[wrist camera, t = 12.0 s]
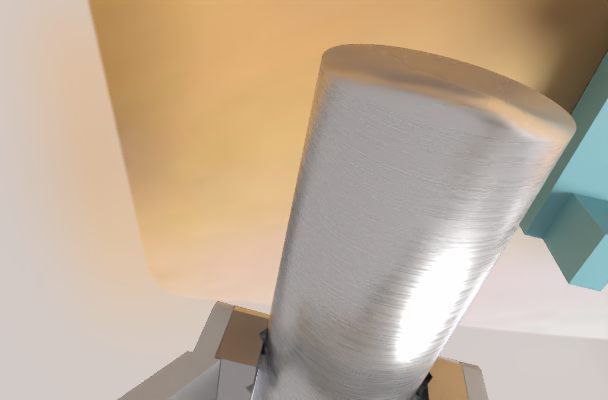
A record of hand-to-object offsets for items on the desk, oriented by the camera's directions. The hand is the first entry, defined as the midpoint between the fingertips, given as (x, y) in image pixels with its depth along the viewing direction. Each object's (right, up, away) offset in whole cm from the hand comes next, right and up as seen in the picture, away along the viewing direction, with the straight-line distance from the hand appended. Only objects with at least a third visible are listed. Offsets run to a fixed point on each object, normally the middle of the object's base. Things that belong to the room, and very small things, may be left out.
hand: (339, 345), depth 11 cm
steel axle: (0, 0, 0) cm, 1 cm away
